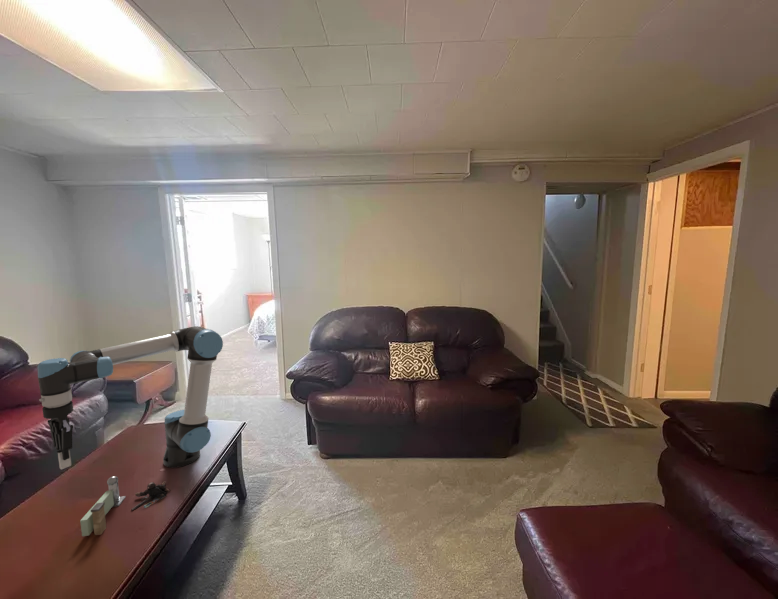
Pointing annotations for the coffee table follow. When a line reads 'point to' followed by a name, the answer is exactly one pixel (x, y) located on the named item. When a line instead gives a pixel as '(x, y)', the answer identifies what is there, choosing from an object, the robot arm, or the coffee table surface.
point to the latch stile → (99, 518)
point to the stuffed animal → (152, 494)
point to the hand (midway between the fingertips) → (65, 466)
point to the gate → (88, 519)
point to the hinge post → (115, 490)
